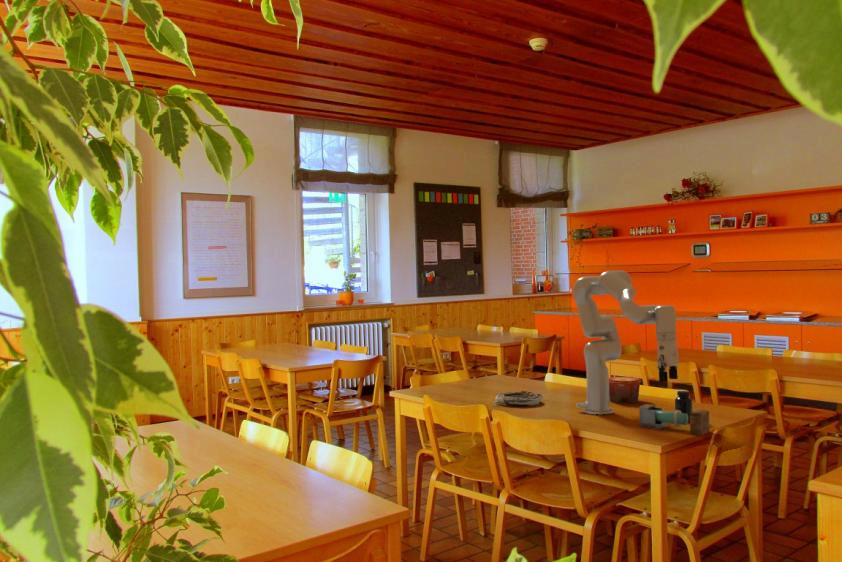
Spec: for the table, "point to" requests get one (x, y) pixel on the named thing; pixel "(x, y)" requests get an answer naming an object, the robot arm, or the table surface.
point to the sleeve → (650, 417)
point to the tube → (672, 417)
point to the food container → (624, 389)
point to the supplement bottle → (684, 403)
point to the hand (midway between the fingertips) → (668, 380)
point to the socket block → (699, 422)
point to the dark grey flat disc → (518, 398)
